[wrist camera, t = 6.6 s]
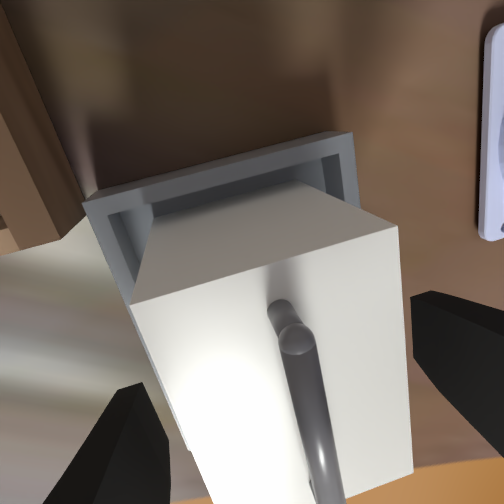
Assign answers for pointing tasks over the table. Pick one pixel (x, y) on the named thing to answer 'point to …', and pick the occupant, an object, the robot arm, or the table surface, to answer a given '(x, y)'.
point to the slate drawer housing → (212, 198)
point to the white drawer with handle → (280, 343)
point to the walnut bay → (30, 160)
